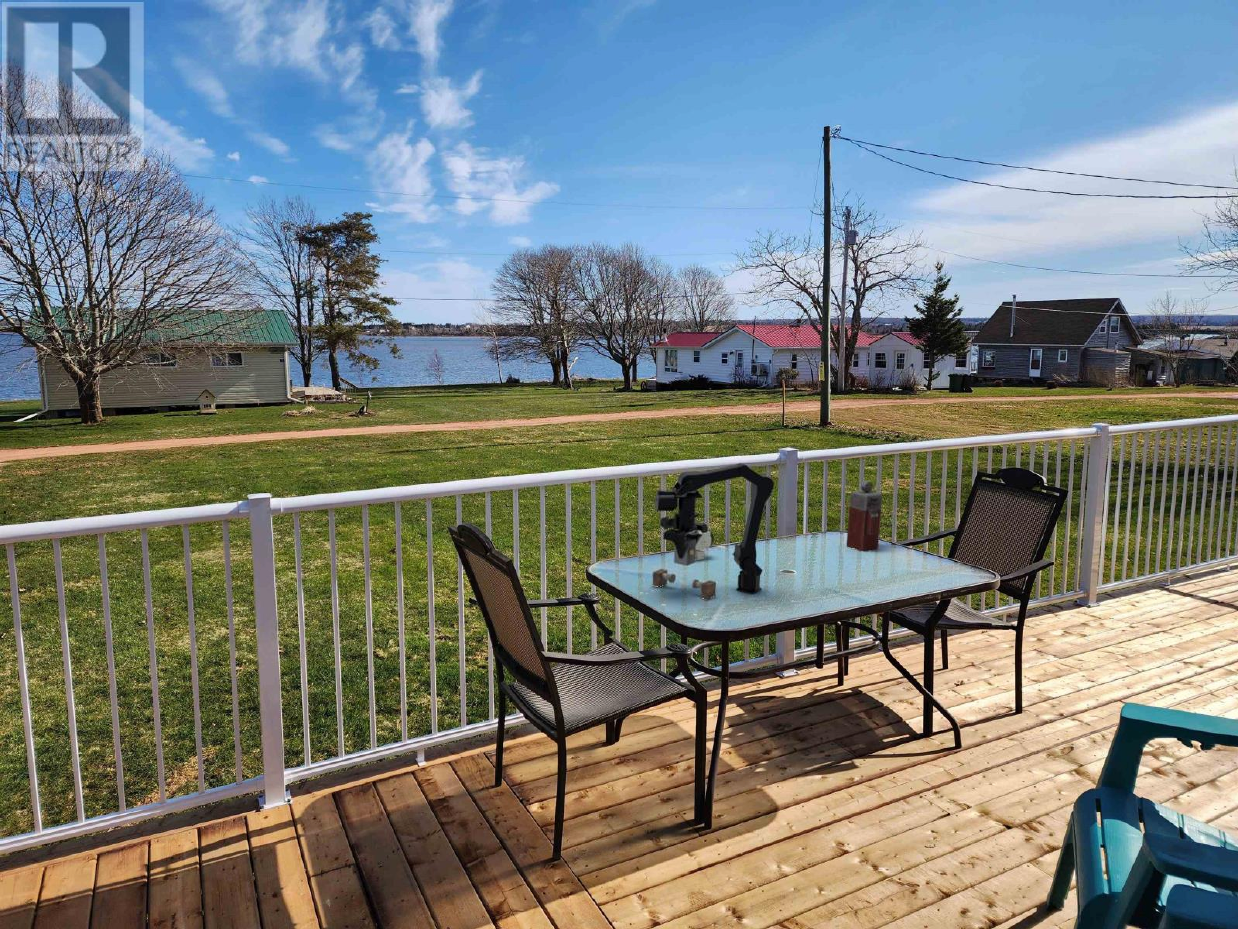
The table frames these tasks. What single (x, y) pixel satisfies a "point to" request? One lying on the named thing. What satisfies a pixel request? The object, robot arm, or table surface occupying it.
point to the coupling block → (687, 553)
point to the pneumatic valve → (703, 544)
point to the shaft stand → (706, 588)
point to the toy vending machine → (864, 518)
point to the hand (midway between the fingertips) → (684, 556)
